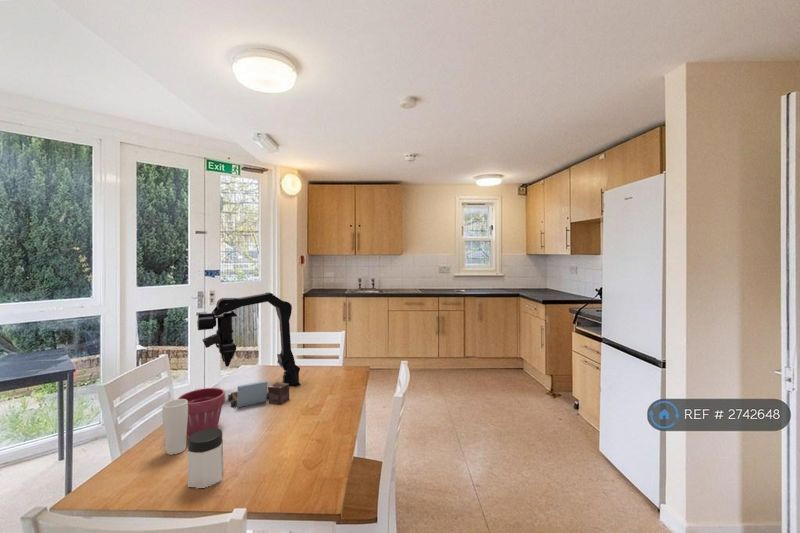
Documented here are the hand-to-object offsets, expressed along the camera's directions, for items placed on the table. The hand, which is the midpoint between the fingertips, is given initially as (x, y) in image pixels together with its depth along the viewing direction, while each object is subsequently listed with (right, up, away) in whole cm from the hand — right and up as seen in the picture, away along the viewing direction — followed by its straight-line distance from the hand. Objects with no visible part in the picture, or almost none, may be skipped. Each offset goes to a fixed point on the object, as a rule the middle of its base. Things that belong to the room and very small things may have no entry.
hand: (225, 363), depth 156 cm
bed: (+11, -15, -4) cm, 19 cm away
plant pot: (+7, -15, -31) cm, 35 cm away
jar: (+23, -15, -59) cm, 65 cm away
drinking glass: (+6, -15, -44) cm, 47 cm away
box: (+25, -15, -6) cm, 29 cm away
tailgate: (+16, -9, -10) cm, 21 cm away
